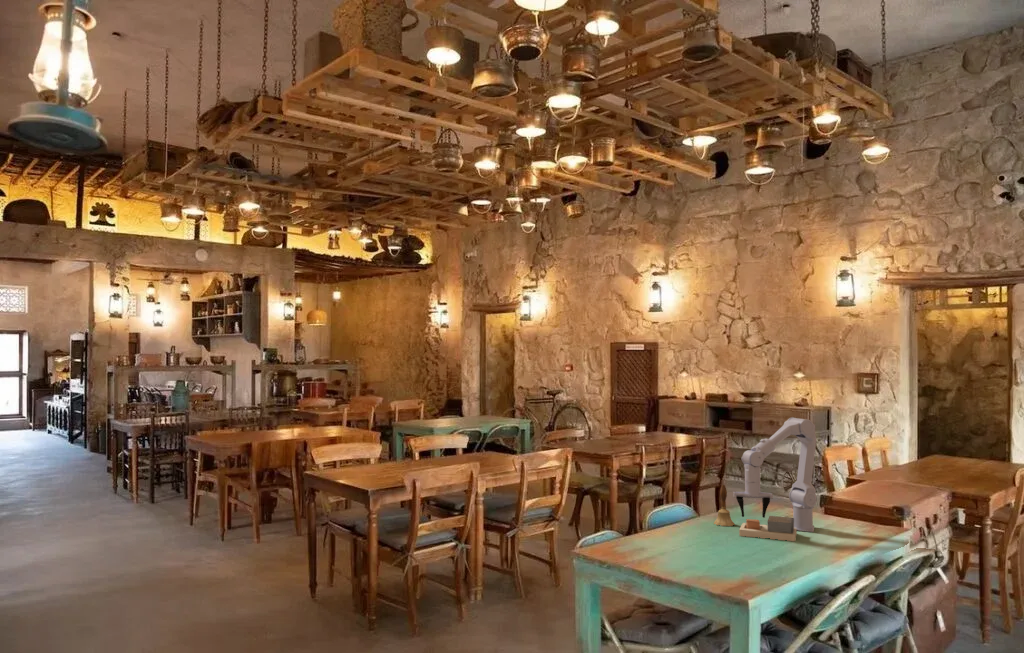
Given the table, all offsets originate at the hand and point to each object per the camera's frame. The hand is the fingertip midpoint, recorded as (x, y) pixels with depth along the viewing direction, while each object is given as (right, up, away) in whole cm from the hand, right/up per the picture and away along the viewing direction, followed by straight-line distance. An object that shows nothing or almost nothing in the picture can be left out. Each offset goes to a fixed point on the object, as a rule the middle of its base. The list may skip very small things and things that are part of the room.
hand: (753, 516), depth 283 cm
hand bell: (-7, -7, +15) cm, 18 cm away
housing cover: (+9, -4, -4) cm, 11 cm away
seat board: (+5, -6, -2) cm, 8 cm away
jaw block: (0, -7, 0) cm, 7 cm away
